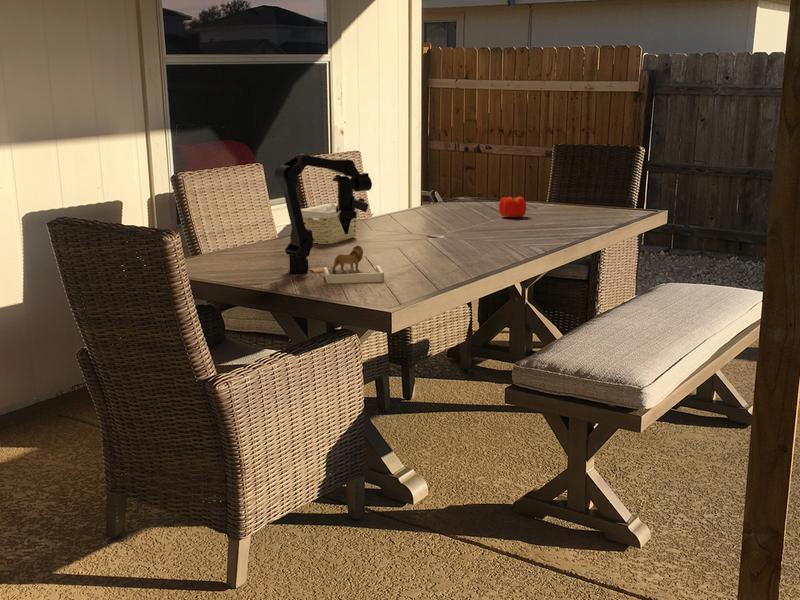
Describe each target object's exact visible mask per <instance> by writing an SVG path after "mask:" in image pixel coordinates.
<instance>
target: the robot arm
mask: <svg viewBox="0 0 800 600" xmlns="http://www.w3.org/2000/svg"><path fill="white" fill-rule="evenodd" d="M306 167H315V168H320V169H325V170H329V171H331V172H334V173H336V175H335V177H333V178H332V181H333V182H336V183H337V195H336V196H337V204H338V205H337V206H336V213H338V212H339V215H337V216H338V218H339V220H340V223H341V225H342V228H343V230H344V233H345V234H348V231H349V226H350V221H351V220H352V219H353V218H357V219H358V215H357V213H356V212H355V211H354V210H355V208H356V209H358V211H362V212H363V213H367V211H368V207H369V205H370V204H369V202H365V199H364V198H363V197H359V198H358V199H355V196H354V192H357V193H359V192H368V191H370V190H371V189H372V187H373V182H372V179H371V177H370V175H369V173H368V172H362V173H360V171H359V170H358V169H357V168H356V163H355V162H354V161H353V159H347V158H346V159H345V158H331V159H330V158H325V157H319V156H312V155H308V154H305V153H298V154H297V155H295V156H294V157H293V158H292V159H290V160H288V161H286V162H284V163H283V164H282V165H279V166H277V167H276V169H275V170H274V178H275V180H276V183H277V184H278V186H279V187H280V189H281V190H282V192H283V195H284V200H285V205H286V208H287V213H288V218H289V222H290V227H291V231H290V235H289V236H290V243H288V245H287V246H286V247H285V249H284V251H285V254H286V255H288V263H289V264H288V265H289V266H288V267H289V269H288V272H289V274H290V275H292V274H307V273H308V271H309V258H308V257H310V254H311V250H312V248H313V246H314V243H313V241H314V239H313V236H312V231H311V230H308V229H306V228H305V225H304V221H303V216H302V212H301V209H302V208H301V203H300V199H299V195H298V191H297V187H298V183H299V175H300V174H302V173H303V171H304V169H305V168H306ZM341 175H342V176H341Z"/></svg>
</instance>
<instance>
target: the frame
mask: <svg viewBox="0 0 800 600" xmlns="http://www.w3.org/2000/svg"><path fill="white" fill-rule="evenodd" d="M323 267H324V272H323V276H324V279H325V282H326V284H349V283H350V284H352V283H353V284H354V283H357V284H358V283H377V282H378V283H379V282H382V283H383V282H385V272H384V271H383V269H382V267H381V266H380V265H375V270H376V271H375V272H365V273H363V272H361V273H357V272H356V273H339V274H338V273H337V274H336V273H332V274H330V272H328V269H329V268H328V267H326V266H323ZM327 268H328V269H327Z"/></svg>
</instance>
